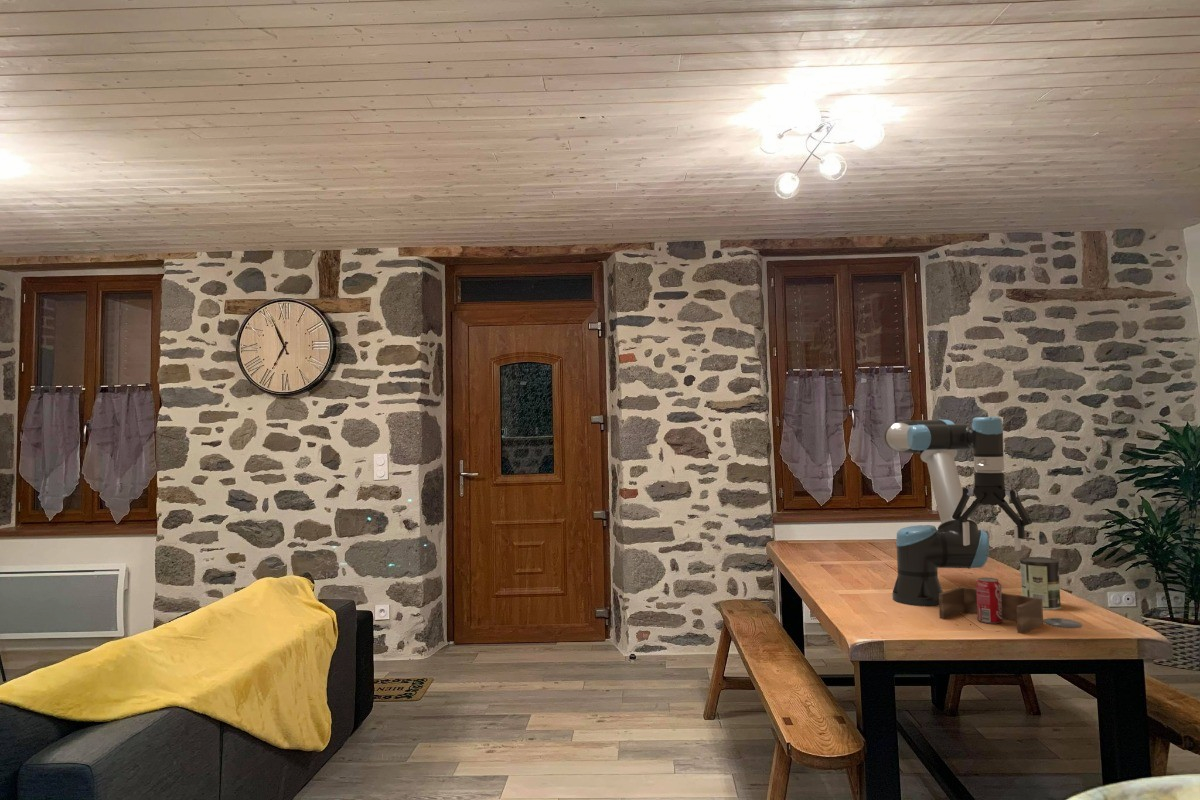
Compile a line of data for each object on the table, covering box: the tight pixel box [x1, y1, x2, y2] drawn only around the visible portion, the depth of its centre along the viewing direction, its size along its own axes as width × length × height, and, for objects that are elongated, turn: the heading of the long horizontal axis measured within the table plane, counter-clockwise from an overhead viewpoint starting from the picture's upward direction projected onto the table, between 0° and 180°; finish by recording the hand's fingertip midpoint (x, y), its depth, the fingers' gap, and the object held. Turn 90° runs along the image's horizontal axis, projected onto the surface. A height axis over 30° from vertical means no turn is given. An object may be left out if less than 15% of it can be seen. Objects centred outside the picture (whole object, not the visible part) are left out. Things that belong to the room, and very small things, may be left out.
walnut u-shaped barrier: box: [938, 586, 1044, 635], centre depth 207 cm, size 22×14×7 cm, turn 39°
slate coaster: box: [1043, 617, 1083, 629], centre depth 203 cm, size 9×9×1 cm
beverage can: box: [975, 577, 1004, 625], centre depth 207 cm, size 6×6×12 cm
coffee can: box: [1019, 556, 1062, 611], centre depth 224 cm, size 10×10×14 cm
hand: (991, 547), depth 207 cm, fingers open, 13 cm apart
